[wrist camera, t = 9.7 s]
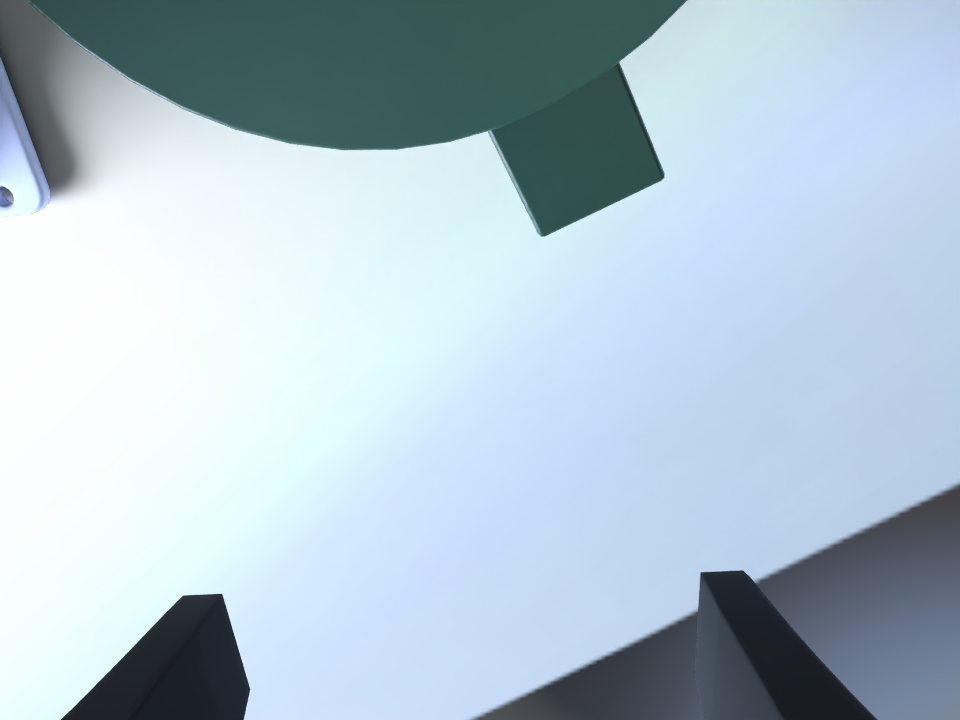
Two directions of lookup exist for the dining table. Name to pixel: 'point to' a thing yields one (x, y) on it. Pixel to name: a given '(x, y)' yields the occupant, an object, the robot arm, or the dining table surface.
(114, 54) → the lid
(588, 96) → the pot
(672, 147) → the dining table surface
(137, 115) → the dining table surface
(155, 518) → the dining table surface
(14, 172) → the robot arm
